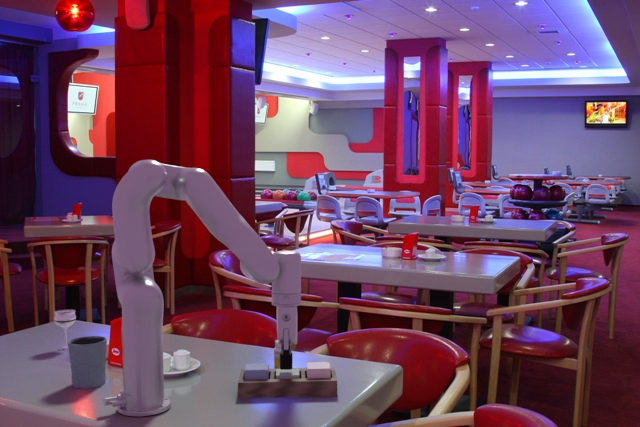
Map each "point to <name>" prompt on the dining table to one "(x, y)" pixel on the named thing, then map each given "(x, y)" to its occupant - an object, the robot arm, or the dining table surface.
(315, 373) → the cream key
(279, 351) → the supplement bottle
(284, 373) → the sage key
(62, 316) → the wineglass
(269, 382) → the console
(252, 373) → the slate key
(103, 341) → the grey blue cup
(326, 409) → the dining table surface
